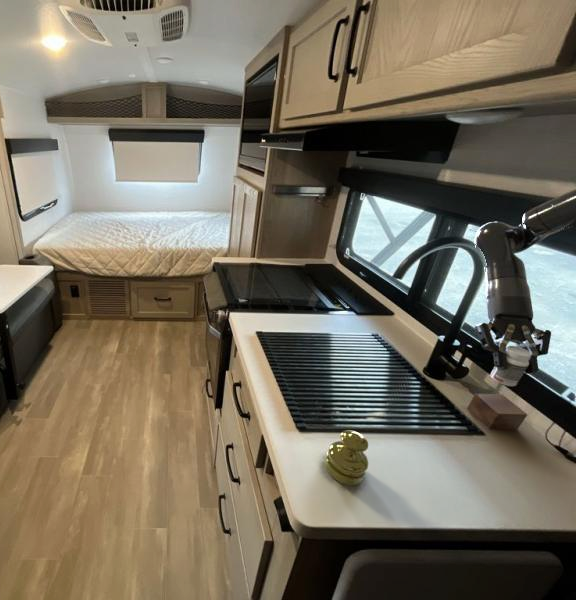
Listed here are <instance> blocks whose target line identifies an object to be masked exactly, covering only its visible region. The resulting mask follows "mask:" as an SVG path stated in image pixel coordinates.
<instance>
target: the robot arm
mask: <svg viewBox="0 0 576 600" xmlns="http://www.w3.org/2000/svg"><path fill="white" fill-rule="evenodd" d="M575 220H576V188H575V189H573V190H570V191H567V192H565V193H563V194H560V195H559V196H557V197H554V198H552V199H550V200H547V201H546V202H543V203H541V204H540V205H537V206H535V207H532V208H530V209H529V210H527V211H526V212H525V213H524V214H523V216H522V223H521V224H522V225H521V224H519V225H517V226H512V225H510V224H507V223H505V222H502V221H491V222H487V223H485V224H483V225H482V226H481V227H480V228H479V229H478V230H477V231H476V234H475V238H474V245H475V244H476V245H477V246H478V247H479V248H480V249H481V251H482V252H483V254H484V256H485V259H486V263H487V266H486V272H485V271H484V273H485V282H486V283H485V284H486V287H485V298H486V309H487V316H488V317H487V318H488V319H489V322H488V323H486V322H481V323H479V324H476V325H475V326H474V329H475V333H476V334H477V338H478V340H479V343H480V345H481V347H482V349H483V350H485V351H486V350H487V351H490V352H491V354H492V356H493V364H494V367H497V369H498V370H507V369H508V365H507V356H506V353H505V350H506V349H507V347H508V344H510V343H513V344H515V346H517V347H521V348H523V349H526V350H527V351H529V352H530V353H531V357H530V359H529V360H528V361H529V365H528V367H527V369H526V370H525V372H524V373H525V374H526V375H534V374H535V375H536V374H537V372H538V371H539V361H538V357H539V356H546V355H548V354H549V349H550V343H551V337H552V330H549V329H544V330H543V329H540V328H536V325H535V324H534V323H533V319H534V310H533V303H532V297H531V295H532V294H531V289H530V286H529V284H528V278H527V272H526V266H525V263H524V261H523V259H521V258H520V257H518V256H517V255H516V254H519V253H522V252H525V251H526V250H528V249H530V248H531V247H533V246H534V245H536V244H537V243H539V242H541V241H543V240H544V239H545V238H547V237H548V236H550V235H553V234H555V233H558V232H561V231H563V230H565V229H564V228H565V227H567V226H569V225H570V224H571V223H573V222H574V221H575ZM523 223H524V224H523ZM562 229H563V230H562ZM560 230H561V231H560ZM476 245H475V246H476ZM492 333H493V334H494V337H493V335H492ZM532 335H533V336H532Z"/></svg>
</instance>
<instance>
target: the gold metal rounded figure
mask: <svg viewBox="0 0 576 600" xmlns="http://www.w3.org/2000/svg"><path fill="white" fill-rule="evenodd" d="M368 449H369V441H368V440H367V438H366V437H365V436H364V435H362V434H361V433H360V432H358V431H355V430H350V429H346V430H343V431H342V432H341V433H340V440H339V441H334V442H333V443H331V444H330V445H329V447H328V451H327V453H326V457H325V459H324V466H325V469H326V471H327V472H328V474H329V475H330V476H331V478H332V479H334V480H335V481H337V482H339V483H341V484H344V485H346V486H356V485H359V484H361V482H362V481H363V478H364V477H365V475H366V471H367V470H368V468H369V460H368V457H367V455H366V454H365V453H364V452H366V451H367V450H368Z"/></svg>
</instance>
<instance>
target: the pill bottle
mask: <svg viewBox="0 0 576 600" xmlns="http://www.w3.org/2000/svg"><path fill="white" fill-rule="evenodd" d="M504 353H506V356H507V365H508V369H507V370H498V369H497V367H495V366H494V367H493V369H492V370H491V372H490V377H491V379H492V380H493V381H495V382H496V383H498V384H500V385H503V386H507V387H515V386H517V385H518V384H519V382H520V380H521V378H522V377H523V375H524V373H525V370H526V369H527V367H528V365H529V361H528V360H529V359H530V357H531V353H530V352H529V351H527V350H526V349H523V348H521V347H517V345H507V346H506V349H505V351H504Z"/></svg>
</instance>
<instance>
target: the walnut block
mask: <svg viewBox="0 0 576 600" xmlns="http://www.w3.org/2000/svg"><path fill="white" fill-rule="evenodd" d="M467 409H468V410H469V411H470V412H471V413H472V414H473V415H474V416H475V417H476V418H477V419H479V421H481V423H482V424H483V425H484V426H486V427H487V428H488V429H489V430H516V431H517V430H518V429H519V428H520V426H522V423H523V422H524V421H525V420H526V418H527V417H528V413H526V412H525V411H524V410H522V409H521V408H520V407H519V406H518V405H517V404H515V403H514V402H513V401H512V400H511V399H509V398H508V397H506V396H505V395H504V394H502V393H475V394H474V395H473V396H472V399H471V400H470V402H469V404H468V405H467Z"/></svg>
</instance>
